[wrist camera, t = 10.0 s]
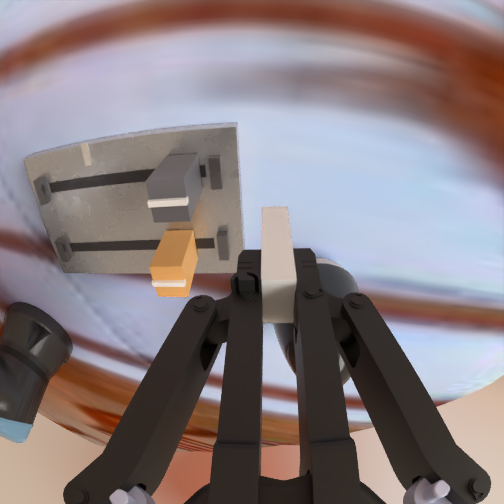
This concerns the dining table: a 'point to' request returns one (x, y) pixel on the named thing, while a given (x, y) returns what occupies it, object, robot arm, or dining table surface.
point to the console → (137, 199)
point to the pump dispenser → (335, 285)
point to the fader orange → (174, 263)
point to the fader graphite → (174, 188)
